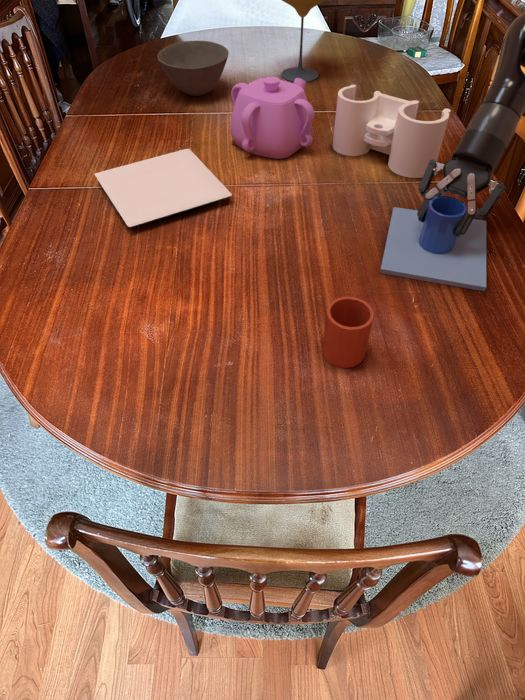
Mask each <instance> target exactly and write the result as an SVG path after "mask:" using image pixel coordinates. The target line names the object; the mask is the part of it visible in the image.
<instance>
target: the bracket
mask: <svg viewBox="0 0 525 700" xmlns="http://www.w3.org/2000/svg"><path fill="white" fill-rule="evenodd" d="M356 92H357V84H350V85H347V86H344V87H342V88H340V89H339V90H338V91H337V100H336V109H335V116H334V117H335V119H334V127H333V135H332V136H333V137H332V150H334V151H335V152H336V153H338V154H340V155H343V156H348V157H359V156H363V155H365V154H367V153H369V152H370V150H372V151H376V152H379V153H382V154H385V155H389V156H388V161H387V166H388V169H389V170H390V171H392V172H393V173H394V174H396V175H398V176H401V177H404V178H408V179H409V178H410V179H422V178H423V175H424V173H425V170H426V168H427V165H428V163H429V161H430V160H432V159H434V160H435V161H436V162H437V163H438V159H439V156H440V151H441V148H442V144H443V141H444V137H445V133H446V130H447V126H448V122H449V118H450V116H451V111H452V110H451V109H450V108H443V110H442V111H441V116H440V118H439V119H437V120H436V119H435V120H419V119H416V118H417V114H418V110H419V105H420V100H417V99H412V100H407V99H404V98H401V97H396V96H393V95H390V94H385V93H381V91H380V90H375V91H374V92H373V95H372V98H370V99H366V100H356Z"/></svg>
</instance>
